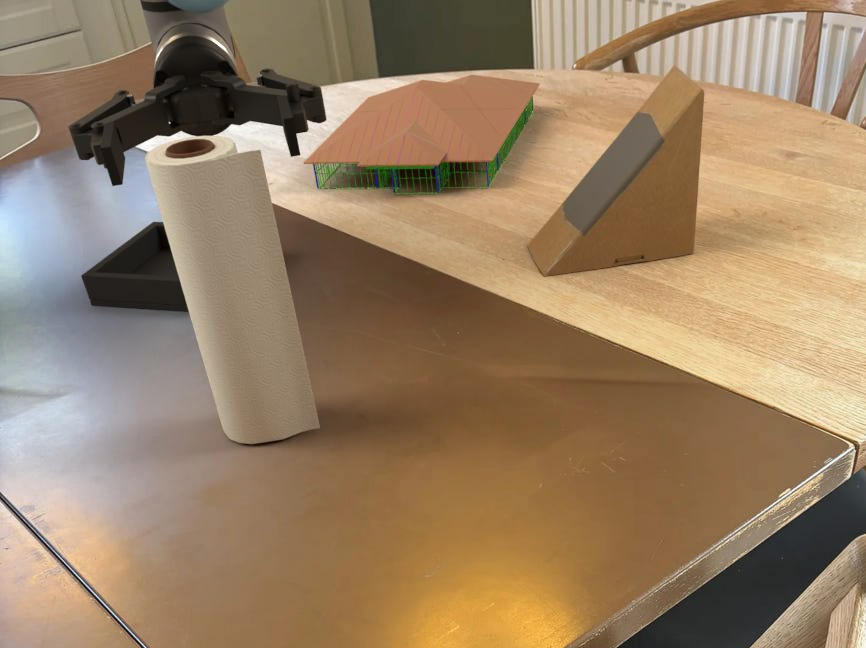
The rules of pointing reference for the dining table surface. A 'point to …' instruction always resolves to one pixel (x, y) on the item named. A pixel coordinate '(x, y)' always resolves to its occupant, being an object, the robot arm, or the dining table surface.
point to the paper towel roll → (235, 285)
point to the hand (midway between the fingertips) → (202, 152)
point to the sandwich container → (634, 190)
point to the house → (429, 129)
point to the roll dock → (138, 274)
